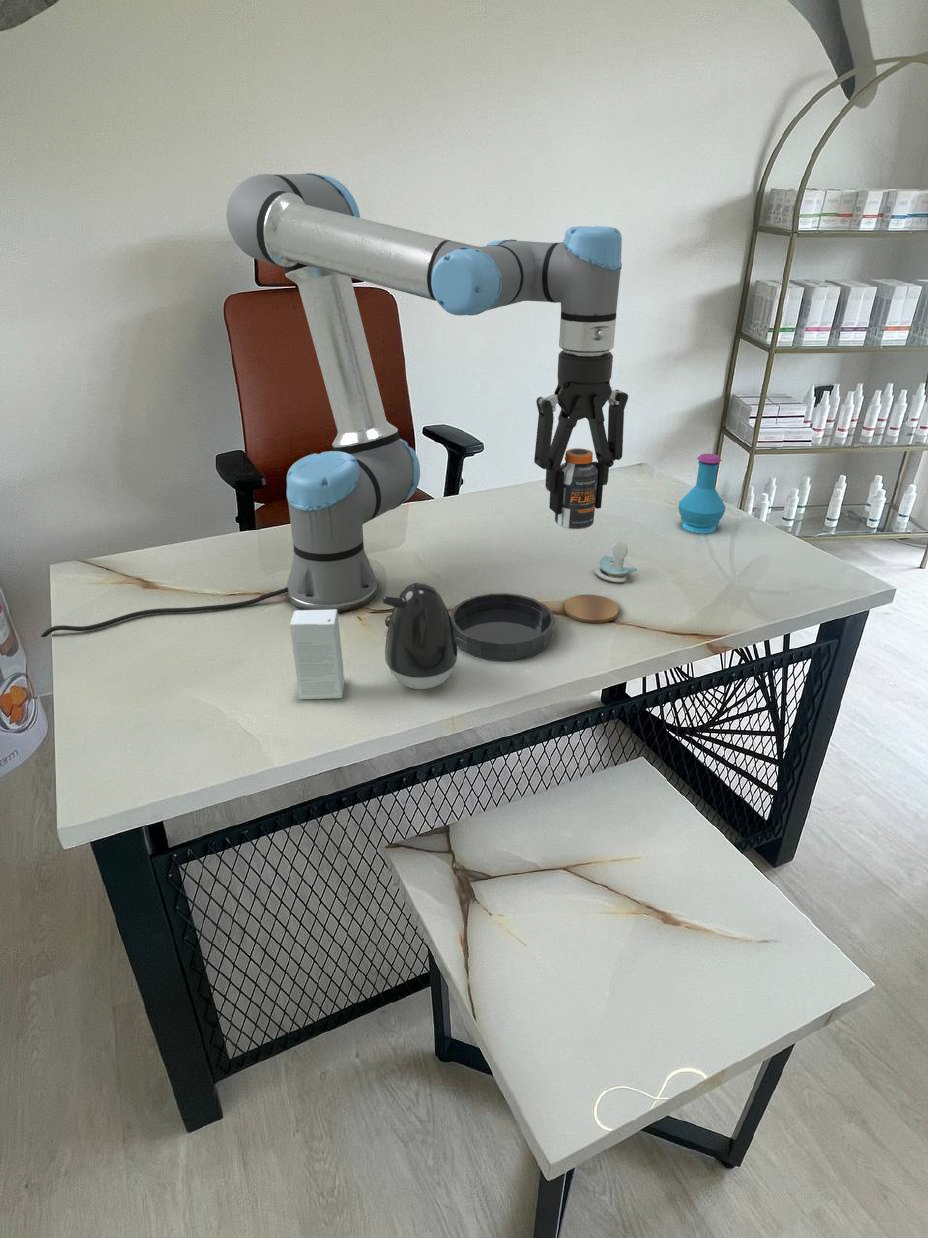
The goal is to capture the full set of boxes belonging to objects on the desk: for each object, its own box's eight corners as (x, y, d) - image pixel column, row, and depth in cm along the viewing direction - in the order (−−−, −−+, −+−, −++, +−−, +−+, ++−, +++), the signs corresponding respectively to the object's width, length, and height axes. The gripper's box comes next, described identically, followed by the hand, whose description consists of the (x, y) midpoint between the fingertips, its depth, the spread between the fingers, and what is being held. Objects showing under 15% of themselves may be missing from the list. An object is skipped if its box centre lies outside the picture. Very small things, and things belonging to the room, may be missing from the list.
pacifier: (617, 588, 141) (640, 578, 144) (620, 556, 138) (643, 546, 141) (587, 574, 146) (609, 564, 149) (589, 542, 143) (612, 533, 146)
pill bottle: (569, 533, 120) (573, 459, 114) (547, 520, 125) (550, 448, 119) (601, 525, 122) (607, 453, 117) (578, 513, 127) (583, 443, 121)
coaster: (579, 627, 129) (580, 624, 128) (554, 602, 136) (555, 599, 136) (628, 617, 131) (629, 614, 131) (601, 594, 139) (601, 590, 139)
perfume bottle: (667, 521, 168) (676, 451, 160) (706, 516, 170) (717, 447, 163) (691, 538, 160) (702, 465, 153) (731, 532, 162) (743, 460, 155)
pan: (472, 669, 118) (472, 651, 116) (436, 618, 131) (436, 602, 130) (571, 649, 123) (572, 632, 121) (527, 602, 136) (528, 586, 135)
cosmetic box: (345, 682, 115) (338, 608, 109) (342, 699, 111) (335, 624, 105) (302, 683, 114) (293, 609, 109) (297, 700, 111) (288, 624, 105)
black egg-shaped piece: (375, 669, 118) (369, 576, 110) (441, 654, 121) (439, 563, 114) (399, 706, 109) (394, 608, 102) (468, 689, 113) (469, 593, 106)
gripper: (534, 360, 105) (528, 525, 116) (660, 350, 111) (642, 508, 122) (512, 350, 111) (508, 507, 123) (632, 341, 117) (617, 492, 128)
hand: (575, 507), depth 122 cm, fingers closed on pill bottle, 6 cm apart
